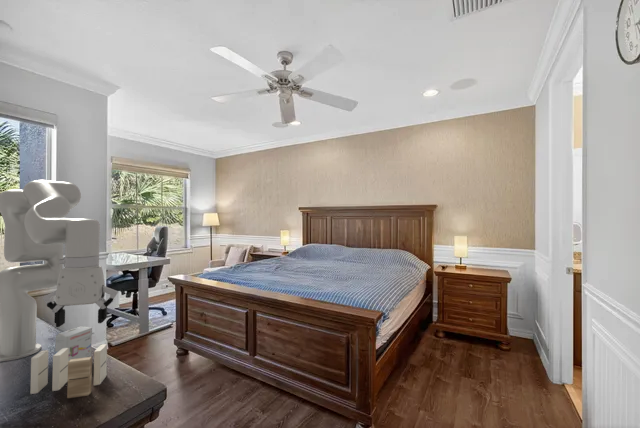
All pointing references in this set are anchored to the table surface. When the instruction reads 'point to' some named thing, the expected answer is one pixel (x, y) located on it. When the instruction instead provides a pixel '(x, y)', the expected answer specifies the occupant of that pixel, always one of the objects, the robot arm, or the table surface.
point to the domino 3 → (79, 377)
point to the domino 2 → (60, 369)
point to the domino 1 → (39, 371)
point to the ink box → (75, 342)
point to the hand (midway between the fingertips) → (81, 323)
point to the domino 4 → (100, 364)
